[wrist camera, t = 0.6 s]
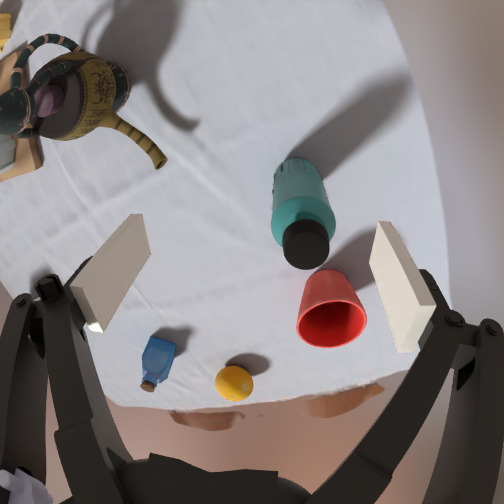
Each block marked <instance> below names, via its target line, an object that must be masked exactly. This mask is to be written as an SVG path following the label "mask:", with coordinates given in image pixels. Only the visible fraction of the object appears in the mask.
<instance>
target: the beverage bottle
mask: <svg viewBox="0 0 504 504" xmlns="http://www.w3.org/2000/svg"><path fill="white" fill-rule="evenodd" d="M273 177H274V184H273V185H274V188H273V190H272V191H273V192H272V193H273V212H272V213H271V214H272V219H271V230H272V234H273V236H274V238H275V240H276V241H277V243H278V244H279V245H280V246H281V247H283V251H284V256H285V258H286V260H287V261H288V262H289V263H290V264H291V265H292V266H294V267H296V268H298V269H303V270H309V269H314V268H316V267H318V266H320V265H321V264H323V263H324V262H325V260H326V259H327V257H328V255H329V249H330V248H329V242H330V240H331V239H332V237H333V235H334V233H335V228H336V220H335V216H334V213H333V211H332V209H331V206H330V204H329V201H328V198H327V194H326V192H327V191H325V188H324V185H323V184H324V183H322V181H323V180H321V179H322V178H321V177H320V175H319V172H318V170H317V168H316V167H315V166H314V165H313V164H312V163H311V162H309V161H307V160H305V159H301V158H298V157H297V158H293V159H291V158H290V159H287V161H285V162H284V161H283V163H282V164H281V165H280V166H278V169H276V173H274V176H273Z"/></svg>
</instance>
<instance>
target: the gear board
mask: <svg viewBox="0 0 504 504" xmlns="http://www.w3.org/2000/svg"><path fill="white" fill-rule="evenodd" d="M22 51H23V50H21V51H16V52H14V53H13V54H11V55H10V56H9V57H7V58H6V59H5V60H3V61H2V62H1V63H0V95H1V94H3V93H4V92H6V91H8V90H9V89H10V77H11V73H12V69H13V66H14V64H15V62H16V60H17V59H18V57H19V55H20V53H21V52H22ZM21 88H23V89H24V88H27V83H26V74H25V65H24V68H23V70H22V75H21ZM25 128H33V126H32V125H31V124H30V122H29V123H28V125H27V126H26V127H25ZM10 136H11V138H12V140H13V139H15V144H16V147H14V159H13V160H14V162H15V163H14V165H13V167H12V168H11V169H9V170H7V171H5V172H4V173H2V174H0V182H1V181H4V180H7V179H10V178H13V177H16V176H19V175H22V174H25V173H28V172H31V171H34V170H37V169H38V168H40V167H42V163H41V159H40V155H39V151H38V146H37V142H36V138H30V139H26V138H24V139H19V138H18V137H17V136H16V135H10Z"/></svg>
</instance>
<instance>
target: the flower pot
mask: <svg viewBox="0 0 504 504" xmlns="http://www.w3.org/2000/svg"><path fill="white" fill-rule="evenodd" d="M366 323H367V316H366V313H365V310H364V308H363V306H362V304H361V302H360V300H359V298H358V296H357V295H356V293H355V291H354V289H353V288H352V286H351V284H350V283H349V281H348V280H347V278H346V277H345V276H344V275H343V274H342V273H341V272H339V271H336V270H332V269H326V270H321V271H318V272H316V273H314V274H313V275H312V276H311V277H310V278H309V279H308V280H307V282H306V285H305V288H304V292H303V296H302V300H301V305H300V309H299V314H298V319H297V326H296V329H297V333H298V335H299V337H300V338H301V339H302V340H303V341H304V342H306V343H308V344H310V345H312V346H315V347H321V348H333V347H339V346H342V345H345V344H348V343H349V342H351V341H353V340H354V339H356V338H357V337H358V336H359V335H360V334H361V333H362V332H363V330H364V328H365V326H366Z"/></svg>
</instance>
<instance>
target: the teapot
mask: <svg viewBox="0 0 504 504" xmlns="http://www.w3.org/2000/svg"><path fill="white" fill-rule="evenodd" d="M46 43H54V44H58V45H62V46H64V47H66V48H68V49H69V50H70V51H71V52H69V53H66V54H63V55H60V56H58V57H56V58H54V59H53V60H51V61H49V62H48V63H47V64H45V65H44V66H43V67H42V68H41V69H40V70H38V71H37V72H36V74H35V75H34V77H33V79H32V80H31V82H30V85H29V87H28V88H24V89H23V88H21V75H22V70H23V68H24V65H25V63H26V61H27V59H28V57H29V56H30V55H31V54H32V53H33V52H34V51H35V50H36V49H37V48H38V47H39V46H41V45H44V44H46ZM129 92H130V79H129V76H128V73H127V71H126V70H125V69H124V68H123V66H121V65H120V64H118V63H116V62H111V61H104V60H103V59H102V58H100V57H98V56H96V55H95V54H91V53H88V52H85V51H84V50H83V49H82V48H81V47H80V46H79V45H78V44H76V43H75V42H74V41H73V40H71V39H69V38H67V37H64V36H61V35H58V34H45V35H42V36H40V37H38V38H37V39H35V40H34V41H33V42H31V43H30V44H29V45H28V46H27V47H26V48H25V49H24V50H23V51H22V52H21V53H20V55H19V57H18V59H17V60H16V62H15V64H14V66H13V69H12V73H11V77H10V89H9V90H8V91H6V92H4V93H3V94H1V95H0V134H4V135H16V136H17V137H18V138H19V139H24V138H26V139H30V138H36V137H38V136H43V137H46V138H50V139H54V140H60V141H66V140H73V139H77V138H80V137H82V136H84V135H86V134H88V133H89V132H91V131H92V130H94V129H95V128H97V127H100V126H101V127H109V128H113V129H115V130H118V131H120V132H122V133H124V134H125V135H127V136H128V137H130V138H131V139H132V140H133V141H134V142H135V143H136V144H138V145H139V146H140V147H141V148H142V149H143V150H144V151H145V152H146V153H147V154H148V155H149V156H150V158H151V159H152V161H153V164H154V167H155V169H156V170H158V169H160V168H161V167H162V166H163V165H165V163H166V162H167V157H166V156H165V155H164V154H163V153H162V151H161V150H160V149H159V148H158V146H157V145H156V144H155V143H154V142H153V141H152V140H151V139H150V138H149V137H147V136H146V135H145V134H144V133H142V132H141V131H139V130H138V129H136V128H135V127H133V126H132V125H130V124H129V123H127V122H126V121H124V120H123V119H122V118H120V117H119V116H118V115H117V114H116V113H117V112H118V111H119V110H120V109H121V108H122V107H123V106H124V105H125V103H126V101H127V99H128V96H129ZM29 122H30V124H31V125H32V126H33V128H25V127H26V126H27V125H28V123H29Z"/></svg>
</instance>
